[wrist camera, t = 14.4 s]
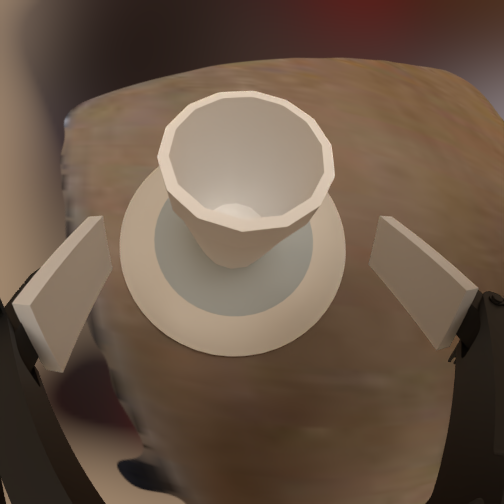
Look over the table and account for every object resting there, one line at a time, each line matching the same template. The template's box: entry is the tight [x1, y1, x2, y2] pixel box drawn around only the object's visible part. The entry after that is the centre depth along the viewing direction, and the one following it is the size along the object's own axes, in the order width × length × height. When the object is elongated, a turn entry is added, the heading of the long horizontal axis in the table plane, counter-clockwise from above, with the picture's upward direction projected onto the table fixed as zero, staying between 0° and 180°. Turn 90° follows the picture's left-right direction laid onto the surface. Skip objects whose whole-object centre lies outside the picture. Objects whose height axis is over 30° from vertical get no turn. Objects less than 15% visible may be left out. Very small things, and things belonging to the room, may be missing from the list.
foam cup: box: [157, 91, 335, 269], centre depth 21 cm, size 10×9×13 cm
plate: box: [120, 166, 346, 356], centre depth 27 cm, size 22×22×1 cm
